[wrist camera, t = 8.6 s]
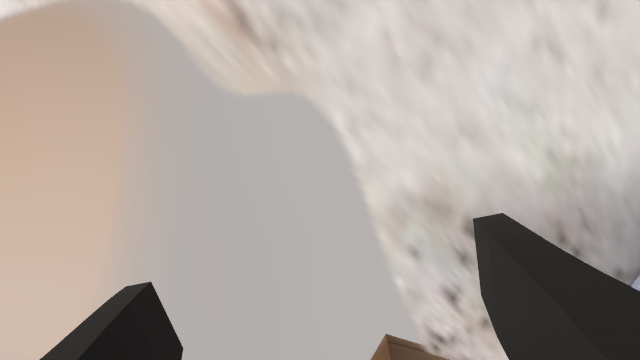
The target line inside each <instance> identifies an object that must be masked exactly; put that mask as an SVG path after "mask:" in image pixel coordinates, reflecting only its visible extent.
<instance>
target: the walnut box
mask: <svg viewBox="0 0 640 360" xmlns="http://www.w3.org/2000/svg"><path fill="white" fill-rule="evenodd" d="M371 360H448V359H445V358H441V357H438V356H435V355H431V354H428V353H426V351H425V349H424V347H423V345H421V344H418V343H415V342H411V341H408V340H405V339H401V338H398V337H395V336H391V335H388V334H385V336H384V338H383V339H382V341H381V343H380V344H379V346H378V348H377V350H376V352H375V353H374V355H373V356H372V358H371Z"/></svg>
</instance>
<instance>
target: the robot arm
mask: <svg viewBox="0 0 640 360" xmlns="http://www.w3.org/2000/svg"><path fill="white" fill-rule="evenodd" d="M473 223H474V232H475V242H476V251H477V260H478V269H479V279H480V288H481V296H482V298H483V301H484V304H485V306H486V309H487V312H488V314H489V317H490V320H491V322H492V325H493V327H494V330H495V332H496V335H497V337H498V339H499V341H500V343H501V345H502V347H503V349H504V351H505V353H506V355H507V357H508V359H509V360H640V275H639V276H638V278H637V279H636V280H635V281H634V282H633V284H632V285H631V286H629V285H627V284H625V283H623V282H621V281H619V280H617V279H615V278H613V277H611V276H609V275H607V274H605V273H603V272H601V271H599V270H597V269H595V268H594V267H592V266H590V265H588V264H586V263H584V262H583V261H581V260H579V259H577V258H576V257H574V256H572V255H570V254H569V253H567V252H565V251H564V250H562V249H560V248H558V247H557V246H555V245H553V244H552V243H550V242H548V241H547V240H545V239H544V238H542V237H540V236H539V235H537V234H535V233H534V232H532V231H531V230H529V229H527V228H526V227H524V226H523V225H521V224H520V223H518V222H516V221H515V220H513V219H512V218H510V217H508V216H507V215H505V214H503V213H500V214H495V215H490V216H485V217H480V218H475V219H473ZM182 352H183V347H182V345H181V343H180V341H179V339H178V337H177V335H176V333H175V330H174V329H173V326H172V324H171V322H170V320H169V318H168V316H167V314H166V312H165V310H164V308H163V306H162V303H161V301H160V299H159V297H158V295H157V293H156V291H155V289H154V287H153V285H152V283H151V282H147V283H143V284H137V285H132V286H127V287H125V288H124V289H122V290H121V291H119V292H118V293H117V294H115V295H114V296H113V297H111V298H110V299H109V300H108V301H107V302H105V303H104V304H103V305H102V306H101V307H100V308H98V309H97V310H96V311H95V312H94V313H93V314H92V315H90V316H89V317H88V318H87V319H86V320H85V321H83V322H82V323H81V324H80V325H79V326H78V327H77V328H76V329H74V330H73V331H72V332H71V333H70V334H69V335H68V336H66V337H65V338H64V339H63V340H62V341H61V342H60V343H59V344H57V345H56V346H55V347H54V348H53V349H52V350H51V351H50V352H48V353H47V354H46V355H45V356H44V357H43V358H41V359H40V360H181V358H182Z"/></svg>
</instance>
